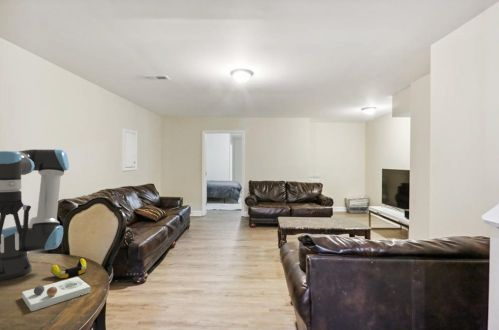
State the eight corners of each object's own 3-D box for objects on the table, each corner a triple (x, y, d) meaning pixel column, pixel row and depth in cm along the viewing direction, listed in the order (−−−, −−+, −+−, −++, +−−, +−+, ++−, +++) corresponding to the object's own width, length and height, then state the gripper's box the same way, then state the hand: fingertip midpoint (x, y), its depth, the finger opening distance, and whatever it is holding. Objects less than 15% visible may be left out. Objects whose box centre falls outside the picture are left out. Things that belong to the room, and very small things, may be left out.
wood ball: (45, 296, 109) (45, 287, 109) (55, 293, 111) (55, 284, 111) (47, 298, 107) (47, 289, 107) (58, 295, 109) (58, 286, 109)
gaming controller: (50, 276, 135) (55, 282, 128) (49, 264, 135) (55, 270, 128) (84, 267, 146) (90, 272, 139) (84, 257, 146) (90, 261, 139)
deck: (22, 297, 113) (22, 291, 113) (77, 282, 128) (77, 276, 128) (31, 311, 102) (31, 304, 102) (90, 292, 117) (90, 286, 117)
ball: (32, 294, 110) (32, 285, 110) (43, 291, 113) (43, 283, 113) (34, 297, 108) (34, 288, 108) (45, 294, 111) (45, 285, 111)
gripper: (-20, 193, 100) (-20, 258, 100) (37, 189, 112) (38, 247, 112) (-22, 192, 105) (-22, 254, 105) (33, 188, 117) (34, 244, 117)
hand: (9, 250), depth 108 cm, fingers open, 4 cm apart
